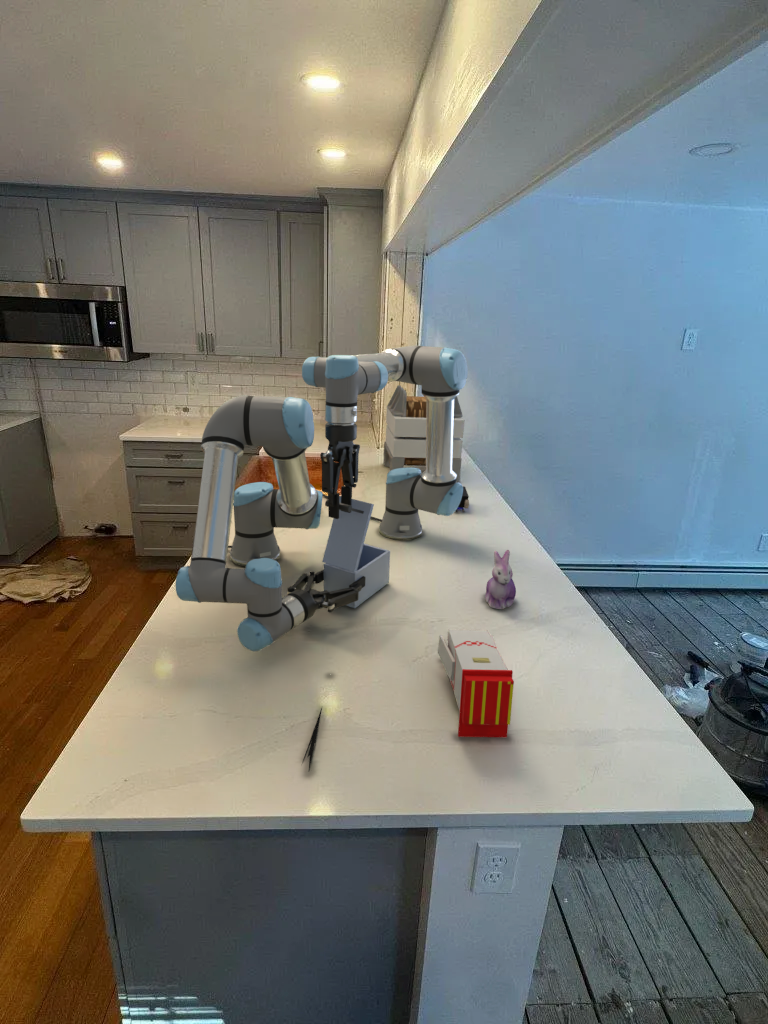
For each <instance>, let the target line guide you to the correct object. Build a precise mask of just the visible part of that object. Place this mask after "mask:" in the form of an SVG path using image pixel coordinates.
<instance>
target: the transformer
mask: <svg viewBox="0 0 768 1024" xmlns="http://www.w3.org/2000/svg"><path fill="white" fill-rule="evenodd" d="M407 394H408V393H407V390H406V389H404V388H403V387H402V385H399V384H398V385H397V386H396V388H395V390H394V392H393V394H392V395H391V398H390V400H389V402H388V404H387V405H386V413H385V414H386V415H385V423H386V428H385V438H384V442H383V466H384V467H388V468H389V472H390V471H391V470H394V469H398V468H405V466H406V467H407V466H411V467H412V466H413V467H415V466H416V467H417V466H418V467H426V398H425V397H424V396H415V395H414V396H413V395H412V396H411V395H407ZM464 429H465V419H464V418H463V411H462V408H461V405H460V402H459V398H458V395H457V396H456V397H455V399H454V423H453V457H452V470H453V471H454V472H455V473H456V475H457V478H456V482H459V483H461V472H462V461H463V460H462V453H463V442H464V441H463V440H462V439H463V438H464V431H465V430H464Z"/></svg>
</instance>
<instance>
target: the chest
mask: <svg viewBox="0 0 768 1024" xmlns="http://www.w3.org/2000/svg"><path fill="white" fill-rule="evenodd" d="M390 564H391V550H388V549H385V548H381V547H379V546H374V545H371V544H368V543H364V545H363V549H362V553H361V556H360V560H359V564H358V568H357V572H353V571H349V570H346V569H343V568H340V567H337V566H334V565H330V564H327V563H323V569H324V580H323V591H326V590H327V591H328V592H330V591H334V590H339V589H344V588H349V585H350V584H352V583H353V582H355V581H357V580H358V579H360V578H361V577H363V576H364V577H366V578H365V587H363V588H362V589H361V591H359V598H358V601H355V602H352V603H350V604H347V605H345V606H347V607H349V608H352V609H356V608H357V607H359V606H361V604H363V603H364V602H366V600H368V599H369V598H371V597H372V596H373V595H375V594H376V593H377V592H379V590H381V589H383V588H384V587H385V586H386V585H388V584H389V583H390V566H391V565H390ZM324 599H325V595H324Z"/></svg>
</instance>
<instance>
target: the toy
mask: <svg viewBox="0 0 768 1024" xmlns="http://www.w3.org/2000/svg"><path fill="white" fill-rule="evenodd" d="M446 640H447V643H446V641H445V639H444V636H443V635H442V634H439V637H438V646H437V656H438V657H439V659H440V661H441V663H442V666H443V668H444V670H445V672H446V674H447V677H448V679H449V681H450V684H451V687H452V690H453V693H454V697H455V701H456V705H457V708H458V711H459V714H458V715H459V716H458V730H457V731H458V732H457V737H458V738H508V731H509V726H510V725H511V717H512V707H513V697H514V696H513V695H514V684H515V680H514V679H513V673H514V671H513V670H512V669H508V667H507V665H506V662H505V661H504V659H503V658H502V655H501V653H500V651H499V649H498V647H497V643H496V639H495V637H494V635H493V634H491V632H490V631H489V629H467V628H466V629H465V628H463V629H461V628H460V629H459V628H448V630H447V639H446Z"/></svg>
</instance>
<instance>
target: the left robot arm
mask: <svg viewBox="0 0 768 1024" xmlns="http://www.w3.org/2000/svg"><path fill="white" fill-rule="evenodd" d="M206 423H207V424H206V425H205V428H204V430H203V433H202V437H201V444H200V450H201V451H202V453H203V454H204V458H203V466H202V472H201V480H200V487H199V495H198V503H197V509H196V518H195V525H194V532H193V539H192V547H191V554H190V563H189V565H186V566H181V568H179V570H178V571H177V575H176V577H175V592H176V595H177V597H178V598H179V599H180V600H181V601H185V602H195V603H200V604H201V603H218V604H219V603H224V604H225V603H226V604H243V605H246V610H247V611H246V612H247V617H246V618H243V620H242V621H241V622H240V623H239V624H238V626H237V629H236V633H237V638H238V640H239V642H240V644H241V645H242V646H243V647H244V648H245V649H247V650H249V651H251V652H259V651H261V650H263V649H265V648H267V647H269V646H271V645H272V644H273V643H274V642H276V641H277V640H278V639H280V638H281V637H283V636H284V635H286V634H287V633H289V632H291V631H292V630H294V628H295V629H296V627H298V626H299V625H301V624H302V623H305V622H306V621H307V620H309V619H310V618H311V617H313V616H314V615H315V613H316V612H317V611H318V610H320V609H323V608H324V609H326V610H327V613H332V612H334V611H335V610H337V609H340V608H341V607H344V606H346V605H347V604H350V603H352V602H355V601H358V598H359V591H361V589H362V588H363V587H365V578H366V577H364V576H363V577H361V578H360V579H358V580H357V581H355V582H353V583H352V584H350V585H349V588H344V589H339V590H334V591H330V592H328V591H327V590H326V591H324V590H322V591H321V590H320V591H319V590H316V589H315V588H314V586H315V584H316V585H318V584H320V583H322V582H324V568H322V569H321V570H319V571H316V572H315V571H313V570H312V571H309V574H308V573H306V572H304V573H302V574H301V575H300V576H299V577H298V579H297V580H296V581H295V582H294V583H293V584H292V585H290V586H288V587H287V588H286V589H287V590H286V591H287V592H286V593H287V594H286V595H284V596H283V579H282V569H281V565H280V563H279V562H278V561H279V559H280V558H281V548H280V546H279V545H278V540H277V538H276V535H275V530H274V529H275V528H279V529H281V528H282V529H283V528H284V529H302V530H303V529H305V530H309V529H310V530H313V529H318V528H319V527H320V524H321V517H322V516H321V514H322V509H323V508H322V506H323V497H324V496H323V494H324V492H322V490H318V489H316V487H314V486H313V484H312V483H310V477H309V476H310V475H309V471H308V463H307V457H306V451H307V450H308V448H310V447H312V446H313V443H314V441H315V440H314V439H315V422H314V413H313V409H312V405H311V404H310V402H308V400H306V399H305V398H300V397H294V396H265V395H263V396H262V395H248V394H247V395H246V394H243V395H237V396H235V397H232V398H230V399H228V400H226V401H225V402H224V403H222V404H221V405H220V406H219V407H218V408H217V409H216V410H215V411H214V412H213V414H212V415H211V417H210V418H209V420H208V421H207V422H206ZM246 446H252V447H253V446H254V447H262V448H263V449H262V450H263V451H264V453H265V454H266V455H267V456H268V457H270V458H271V461H272V465H273V467H274V473H275V477H276V480H277V485H278V488H274V485H273V483H271V482H267V481H257V482H250V483H246V484H243V485H240V486H239V487H237V488H236V481H237V475H238V474H237V473H238V466H239V465H238V464H239V459H240V458H241V457H243V456H244V451H245V447H246ZM235 488H236V489H235ZM232 517H233V519H234V520H233V521H234V537H233V540H232V544H231V545H229V542H230V534H231V525H232ZM229 549H230V551H229ZM228 552H229V560H230V561H231V562H232V563H233V564H235V565H238V566H241V567H245V568H239V567H238V568H234V567H227V560H228ZM303 588H304V589H303ZM324 595H325V598H324Z"/></svg>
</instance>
